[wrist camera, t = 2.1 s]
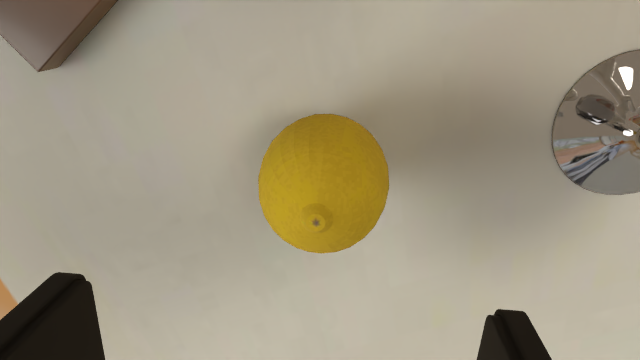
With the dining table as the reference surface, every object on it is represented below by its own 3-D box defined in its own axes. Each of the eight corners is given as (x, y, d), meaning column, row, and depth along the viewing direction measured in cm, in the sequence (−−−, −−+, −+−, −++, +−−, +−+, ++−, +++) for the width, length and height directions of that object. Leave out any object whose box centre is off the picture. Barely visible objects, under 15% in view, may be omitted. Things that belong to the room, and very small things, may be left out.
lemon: (390, 192, 23) (403, 282, 16) (288, 205, 24) (256, 296, 16) (376, 89, 21) (385, 135, 14) (266, 106, 22) (219, 159, 15)
